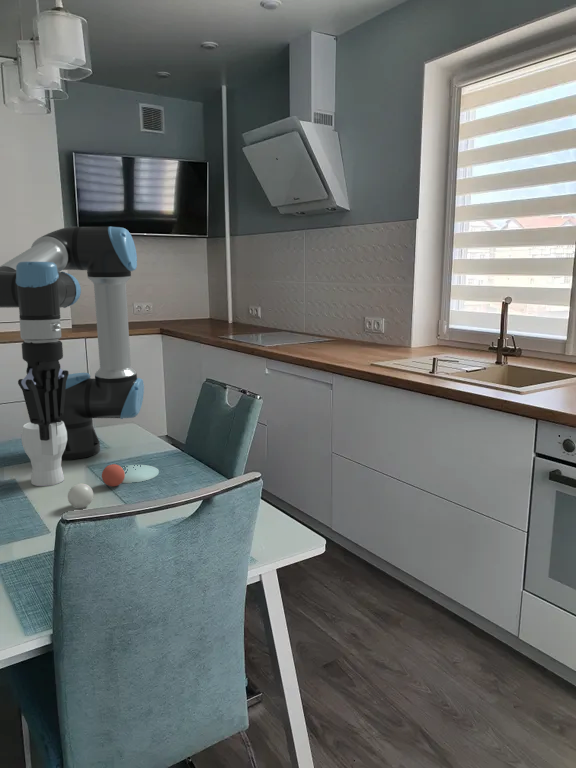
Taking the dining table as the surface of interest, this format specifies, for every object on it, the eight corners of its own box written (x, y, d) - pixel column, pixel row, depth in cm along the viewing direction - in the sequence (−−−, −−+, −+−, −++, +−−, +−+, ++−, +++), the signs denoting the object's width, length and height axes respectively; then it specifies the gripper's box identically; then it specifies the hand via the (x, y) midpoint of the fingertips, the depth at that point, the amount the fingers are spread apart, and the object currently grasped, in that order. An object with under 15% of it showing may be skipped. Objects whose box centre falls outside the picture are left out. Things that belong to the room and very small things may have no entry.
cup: (25, 477, 152) (20, 421, 149) (68, 471, 156) (65, 417, 153) (25, 491, 142) (20, 431, 140) (71, 485, 146) (67, 427, 144)
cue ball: (64, 506, 133) (62, 483, 132) (87, 500, 137) (86, 478, 136) (74, 514, 129) (73, 490, 128) (98, 507, 133) (97, 484, 132)
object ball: (98, 485, 146) (97, 464, 145) (118, 480, 150) (117, 459, 149) (108, 491, 142) (107, 470, 141) (129, 486, 146) (128, 465, 145)
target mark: (95, 473, 155) (94, 472, 155) (142, 462, 164) (142, 461, 164) (120, 487, 145) (120, 486, 145) (169, 474, 154) (168, 473, 154)
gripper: (36, 344, 109) (45, 465, 114) (77, 337, 122) (84, 446, 126) (2, 343, 111) (12, 461, 115) (46, 336, 124) (54, 443, 128)
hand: (49, 453), depth 121 cm, fingers closed
